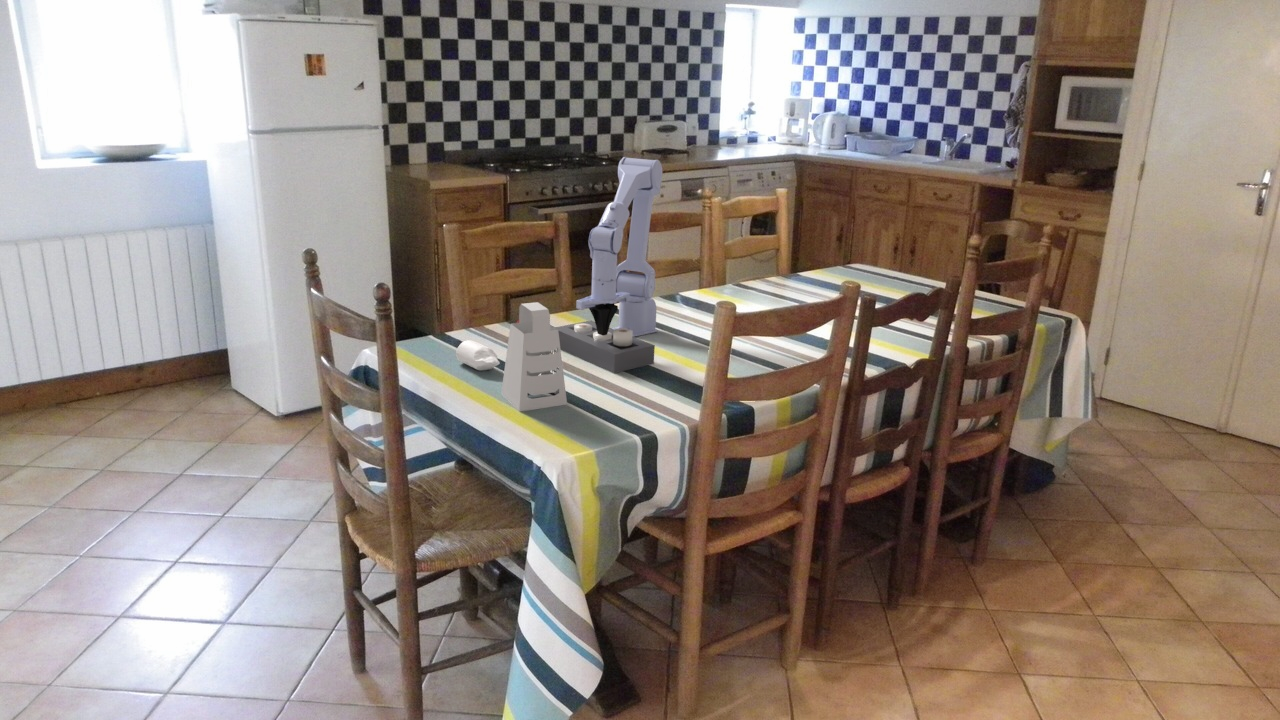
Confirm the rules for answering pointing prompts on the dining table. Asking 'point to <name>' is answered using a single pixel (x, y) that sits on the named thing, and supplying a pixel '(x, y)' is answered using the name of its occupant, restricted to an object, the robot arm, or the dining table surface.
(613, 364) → the mount
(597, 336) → the button middle
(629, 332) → the button
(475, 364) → the roll
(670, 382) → the dining table surface
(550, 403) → the grater
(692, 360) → the dining table surface
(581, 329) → the button
